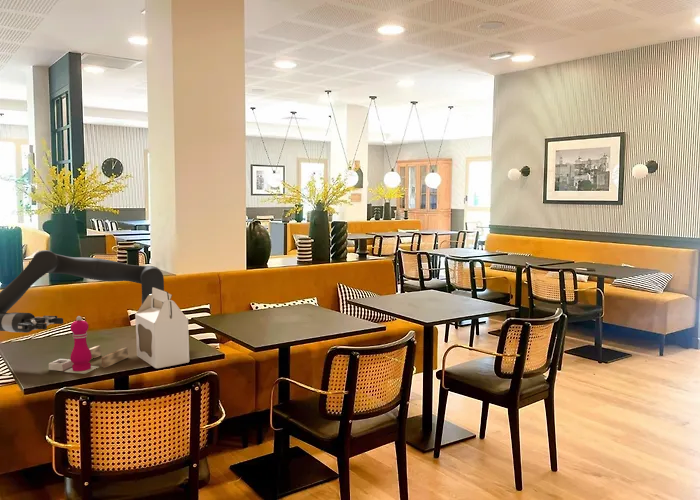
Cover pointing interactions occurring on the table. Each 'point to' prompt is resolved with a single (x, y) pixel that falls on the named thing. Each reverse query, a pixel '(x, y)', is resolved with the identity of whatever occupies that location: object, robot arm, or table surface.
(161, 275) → the robot arm
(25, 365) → the table surface
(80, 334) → the pepper mill
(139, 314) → the gable box
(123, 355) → the oak channel
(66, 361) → the box
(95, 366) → the sage pad
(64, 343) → the table surface
